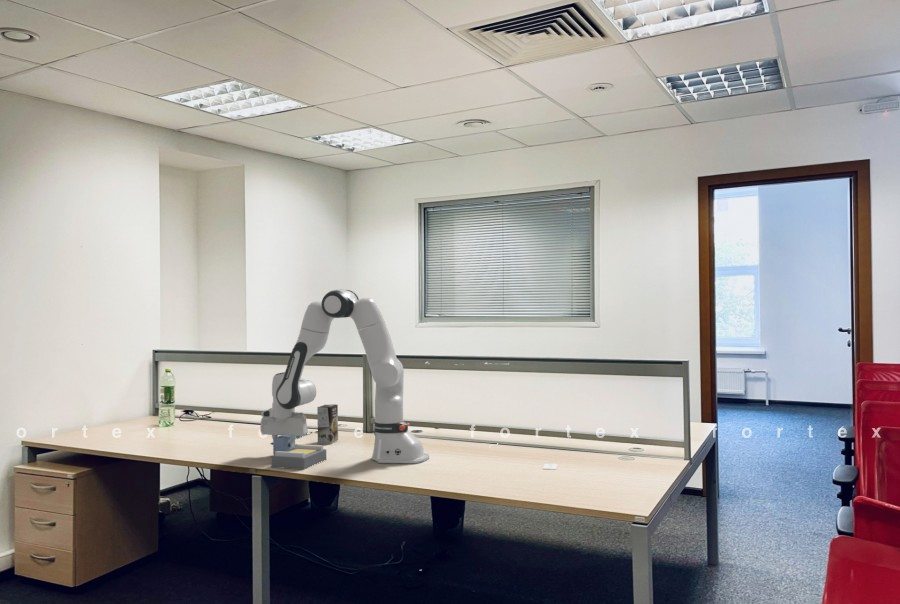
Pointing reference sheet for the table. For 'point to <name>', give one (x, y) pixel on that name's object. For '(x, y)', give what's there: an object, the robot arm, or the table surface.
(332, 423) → the coffee box
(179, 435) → the table surface
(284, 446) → the cart
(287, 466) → the dock
